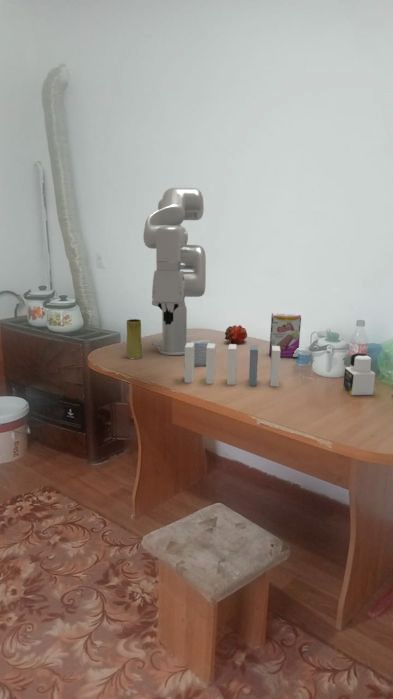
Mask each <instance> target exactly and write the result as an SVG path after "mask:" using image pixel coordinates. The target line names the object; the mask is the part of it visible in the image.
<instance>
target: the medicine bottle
mask: <svg viewBox="0 0 393 699" xmlns="http://www.w3.org/2000/svg"><path fill="white" fill-rule="evenodd" d="M371 368H372V356H370V355H368V354H366V353H358V352H357V353H354V354H351V357H350V364H349V366H346V367H345V368H344V374H343V375H344V376H343V389H344V390H345V391H346V392H347V393H348V394H349V395H350V396H373V395H374V391H375V390H374V388H375V383H376V382H375V381H376V380H375V379H376V372H374V371H373V370H371Z"/></svg>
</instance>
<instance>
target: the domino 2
mask: <svg viewBox="0 0 393 699" xmlns="http://www.w3.org/2000/svg"><path fill="white" fill-rule="evenodd" d="M215 376H216V343H213V342H212V343H208V345H207V348H206V366H205V384H206V385H207V384H208V385H209V384H210V385H213V384H214V382H215V378H216V377H215Z"/></svg>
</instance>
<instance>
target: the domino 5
mask: <svg viewBox="0 0 393 699" xmlns="http://www.w3.org/2000/svg"><path fill="white" fill-rule="evenodd" d="M280 352H281V351H280V346H272V353H271V357H270V376H269V384H270V387H271V388H272V387H276V388H278V387H279V386H280V384H279V382H280V369H281V367H280V366H281V357H280Z"/></svg>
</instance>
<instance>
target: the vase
mask: <svg viewBox="0 0 393 699" xmlns="http://www.w3.org/2000/svg"><path fill="white" fill-rule="evenodd" d="M142 346H143V344H142V321H141V319H137V318H131V319H127V320H126V355H125V356H127V357H128V358H127V357H126V358H127V359H129V358H139V359H142V358H143V347H142ZM141 357H142V358H141Z"/></svg>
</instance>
